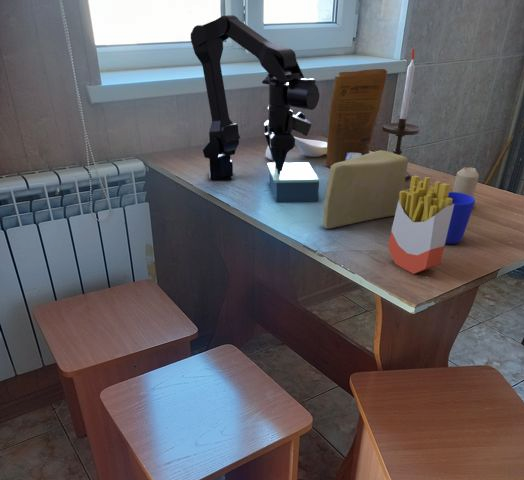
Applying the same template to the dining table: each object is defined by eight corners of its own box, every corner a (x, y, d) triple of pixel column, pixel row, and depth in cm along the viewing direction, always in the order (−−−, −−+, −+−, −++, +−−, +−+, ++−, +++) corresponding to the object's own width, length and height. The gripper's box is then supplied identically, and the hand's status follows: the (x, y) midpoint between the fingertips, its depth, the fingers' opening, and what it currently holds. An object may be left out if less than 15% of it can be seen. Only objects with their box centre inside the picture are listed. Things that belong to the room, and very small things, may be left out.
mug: (407, 233, 123) (415, 192, 117) (456, 232, 124) (466, 191, 118) (418, 247, 116) (427, 204, 110) (470, 246, 117) (481, 203, 111)
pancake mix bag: (379, 165, 169) (393, 69, 153) (327, 170, 164) (335, 71, 148) (369, 160, 175) (382, 66, 158) (318, 164, 169) (326, 68, 153)
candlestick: (389, 183, 154) (411, 49, 134) (369, 173, 162) (386, 45, 142) (418, 179, 158) (443, 48, 137) (397, 169, 166) (418, 44, 145)
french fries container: (421, 279, 103) (441, 191, 93) (385, 259, 111) (399, 175, 100) (437, 274, 105) (458, 187, 95) (400, 254, 113) (416, 172, 102)
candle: (460, 210, 136) (469, 172, 130) (445, 204, 140) (453, 166, 134) (475, 207, 138) (485, 169, 132) (460, 201, 142) (469, 164, 136)
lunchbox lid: (274, 182, 136) (274, 164, 133) (267, 165, 149) (267, 148, 146) (319, 182, 137) (320, 164, 134) (308, 164, 150) (309, 148, 148)
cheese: (337, 235, 121) (344, 171, 112) (310, 222, 127) (315, 160, 119) (400, 216, 132) (411, 156, 123) (372, 205, 138) (380, 147, 130)
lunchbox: (276, 202, 139) (276, 183, 136) (269, 183, 152) (269, 165, 149) (317, 201, 140) (319, 182, 137) (307, 182, 153) (308, 164, 150)
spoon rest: (320, 149, 185) (322, 128, 181) (337, 157, 177) (339, 135, 172) (261, 155, 177) (261, 133, 173) (275, 164, 168) (276, 141, 164)
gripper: (317, 111, 126) (312, 176, 135) (304, 98, 141) (300, 156, 150) (272, 112, 125) (270, 176, 134) (264, 98, 140) (263, 157, 149)
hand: (277, 166), depth 142 cm, fingers open, 9 cm apart
